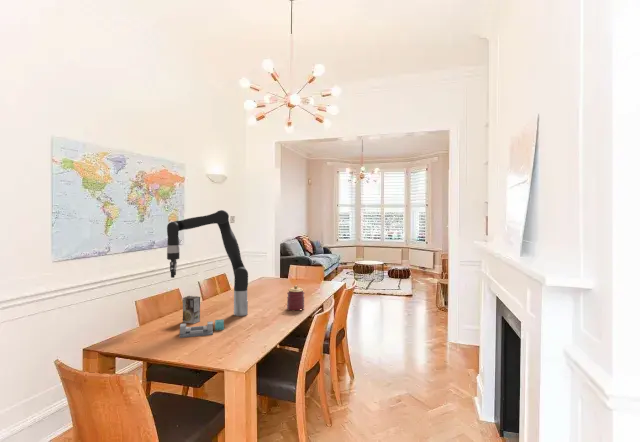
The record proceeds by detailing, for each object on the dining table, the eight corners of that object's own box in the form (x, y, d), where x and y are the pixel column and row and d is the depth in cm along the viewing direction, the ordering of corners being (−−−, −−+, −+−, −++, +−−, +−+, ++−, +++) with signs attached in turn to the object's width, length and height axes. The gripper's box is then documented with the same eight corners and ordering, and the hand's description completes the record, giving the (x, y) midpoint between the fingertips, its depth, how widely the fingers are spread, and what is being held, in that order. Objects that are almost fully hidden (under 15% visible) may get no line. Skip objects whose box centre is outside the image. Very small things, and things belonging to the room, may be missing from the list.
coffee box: (200, 321, 223) (200, 296, 222) (193, 324, 217) (194, 298, 216) (189, 319, 226) (189, 295, 225) (182, 322, 220) (182, 297, 219)
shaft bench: (212, 328, 209) (212, 319, 209) (212, 334, 198) (212, 325, 198) (181, 330, 203) (181, 322, 203) (179, 337, 192) (179, 328, 192)
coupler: (223, 327, 212) (223, 319, 211) (223, 329, 207) (223, 321, 207) (215, 327, 210) (215, 319, 210) (215, 330, 205) (215, 322, 205)
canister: (283, 309, 252) (284, 286, 251) (291, 305, 264) (292, 283, 263) (299, 311, 247) (300, 287, 247) (307, 307, 259) (307, 284, 259)
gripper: (178, 253, 218) (178, 278, 218) (180, 250, 231) (180, 274, 232) (165, 253, 215) (165, 278, 216) (168, 251, 229) (168, 274, 229)
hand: (173, 276), depth 224 cm, fingers open, 8 cm apart
